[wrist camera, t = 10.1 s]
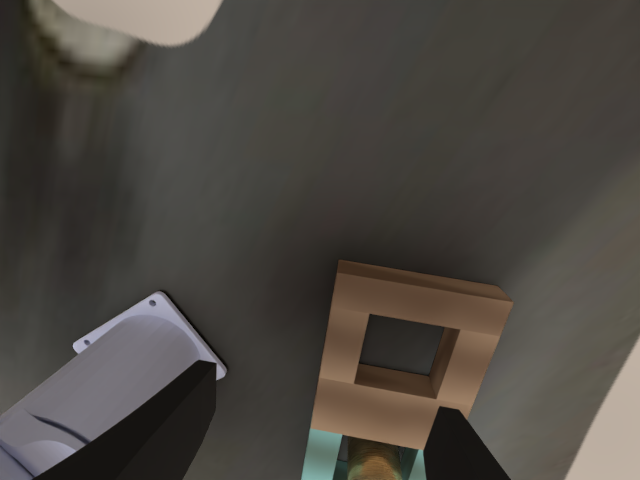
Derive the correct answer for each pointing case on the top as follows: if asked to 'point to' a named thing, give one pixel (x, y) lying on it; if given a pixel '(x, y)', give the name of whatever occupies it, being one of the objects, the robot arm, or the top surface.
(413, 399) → the docking plate
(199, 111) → the top surface
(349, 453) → the brass pin
